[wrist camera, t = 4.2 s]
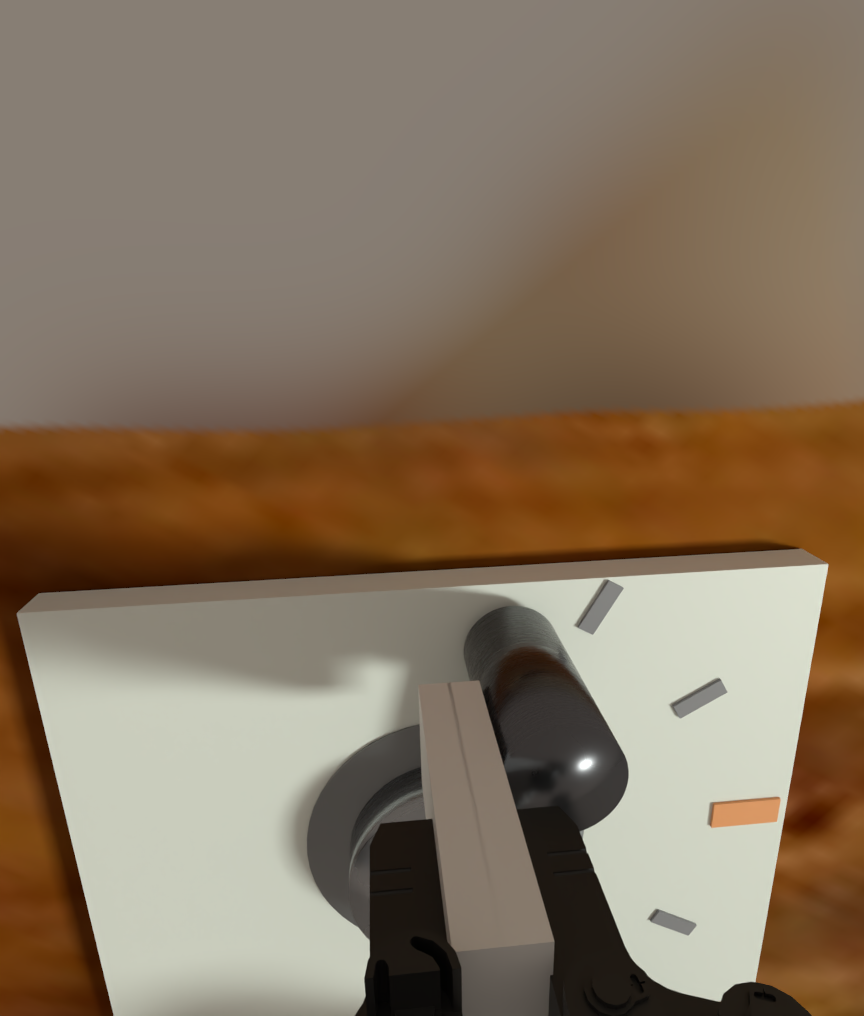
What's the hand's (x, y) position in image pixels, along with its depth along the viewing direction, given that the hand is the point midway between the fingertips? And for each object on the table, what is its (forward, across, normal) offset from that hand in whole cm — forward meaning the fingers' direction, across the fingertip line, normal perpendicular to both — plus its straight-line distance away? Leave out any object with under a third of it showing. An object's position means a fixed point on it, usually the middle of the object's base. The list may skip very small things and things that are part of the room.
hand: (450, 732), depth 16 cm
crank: (+3, +1, -4) cm, 5 cm away
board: (+4, 0, -6) cm, 7 cm away
